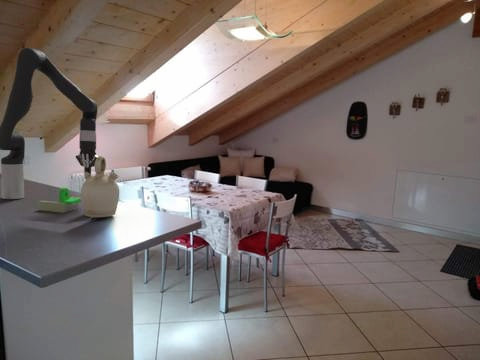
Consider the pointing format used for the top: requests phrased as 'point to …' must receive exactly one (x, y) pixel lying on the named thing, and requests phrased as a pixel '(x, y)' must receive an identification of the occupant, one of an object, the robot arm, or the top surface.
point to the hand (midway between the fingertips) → (87, 175)
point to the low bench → (56, 206)
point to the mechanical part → (67, 197)
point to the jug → (100, 192)
